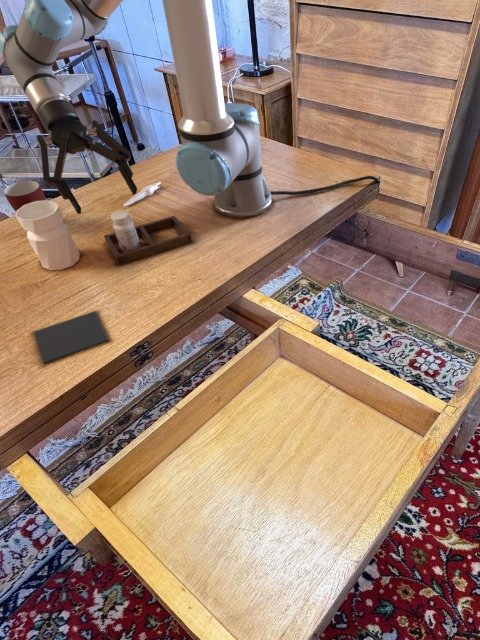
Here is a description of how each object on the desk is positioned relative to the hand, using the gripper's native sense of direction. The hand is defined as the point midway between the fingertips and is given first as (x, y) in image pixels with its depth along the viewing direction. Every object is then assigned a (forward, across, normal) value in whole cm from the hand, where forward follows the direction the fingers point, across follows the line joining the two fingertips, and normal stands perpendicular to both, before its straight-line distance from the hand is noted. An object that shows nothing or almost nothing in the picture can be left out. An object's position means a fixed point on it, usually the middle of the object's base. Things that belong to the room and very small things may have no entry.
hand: (108, 201), depth 100 cm
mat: (+25, +23, +11) cm, 36 cm away
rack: (+11, -4, -3) cm, 12 cm away
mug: (-8, +13, -22) cm, 27 cm away
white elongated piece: (-5, -15, -19) cm, 25 cm away
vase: (+6, +14, -8) cm, 18 cm away
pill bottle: (+10, 0, -4) cm, 11 cm away
